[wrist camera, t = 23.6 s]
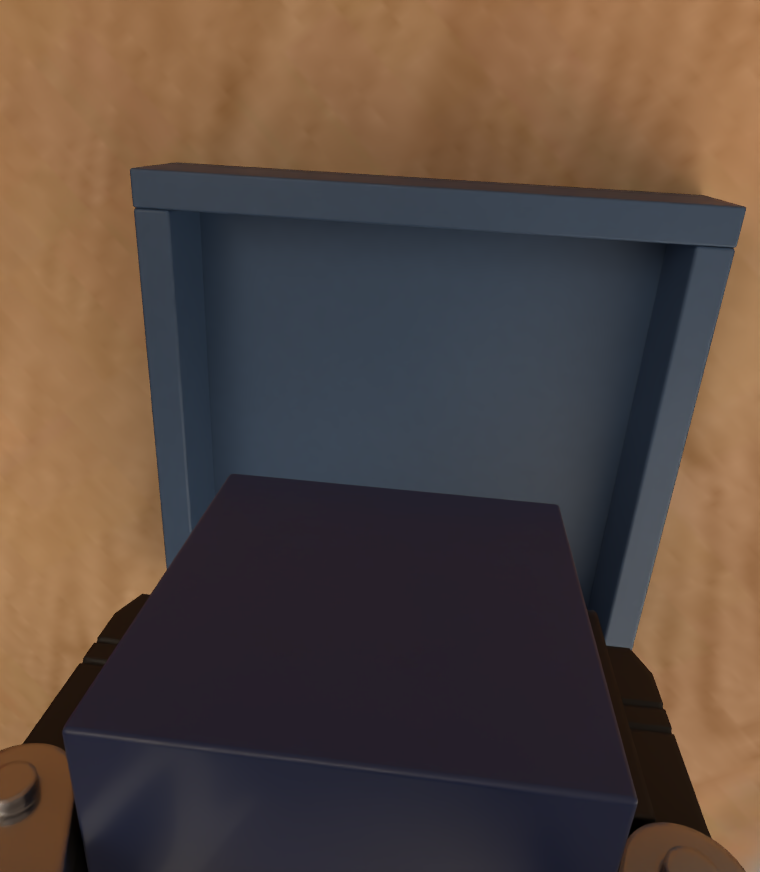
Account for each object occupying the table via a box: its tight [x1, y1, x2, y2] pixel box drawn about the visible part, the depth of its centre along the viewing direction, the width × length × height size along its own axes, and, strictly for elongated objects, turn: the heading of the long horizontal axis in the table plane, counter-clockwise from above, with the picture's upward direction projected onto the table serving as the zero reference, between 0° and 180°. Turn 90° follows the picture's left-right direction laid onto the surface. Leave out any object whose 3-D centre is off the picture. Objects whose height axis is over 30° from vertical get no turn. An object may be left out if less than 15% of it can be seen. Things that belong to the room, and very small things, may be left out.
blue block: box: [62, 474, 638, 872], centre depth 9 cm, size 5×5×5 cm
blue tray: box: [130, 163, 746, 650], centre depth 18 cm, size 13×13×3 cm
